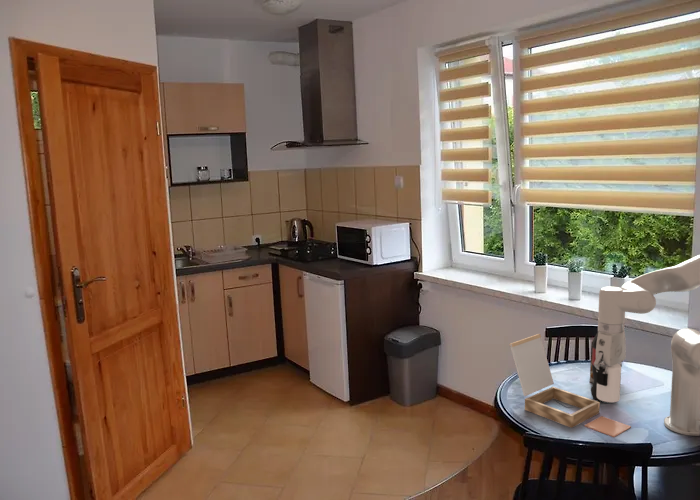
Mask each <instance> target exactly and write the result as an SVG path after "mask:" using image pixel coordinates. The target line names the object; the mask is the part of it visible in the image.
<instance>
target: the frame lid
mask: <svg viewBox="0 0 700 500" xmlns="http://www.w3.org/2000/svg"><path fill="white" fill-rule="evenodd" d="M509 348H510V351H511V355H512V358H513V361H514V364H515V369H516V371H517V372H516V373H517V376H518V379H519V383H520V388H521V390H522V394H523V396H524V397H528V396H529V395H533V394H534V393H536V392H540V391H541V390H542V389H545V388H547V387H550V386H552V385H554V384H555V382H554V379H553V375H552V372H551V368H550V365H549V362H548V361H549V360H548V359H547V358H548V357H547V355H546V351H545V348H544V343H543V340H542V335H541V333H537V334H534V335H532V336H528V337H526V338H522V339H519V340H517V341H514V342H511V343H509Z"/></svg>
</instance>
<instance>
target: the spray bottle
mask: <svg viewBox="0 0 700 500" xmlns="http://www.w3.org/2000/svg"><path fill="white" fill-rule="evenodd" d="M602 363H605V362H604V361H603V362H602ZM601 366H602V367H603V369H604V367H605V365H601ZM607 374H608V381H607V386H603V385H600V384H597V393H596V396H597V398H598V399H599V400H601V401H604V402H611V403H616V402H619V401H620V399H621V385H622V384H621V382H622V381H621V380H622V367H621V365H620V364H618V363H617V364H615V365H613V366H608V369H607Z"/></svg>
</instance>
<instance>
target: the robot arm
mask: <svg viewBox="0 0 700 500" xmlns="http://www.w3.org/2000/svg"><path fill="white" fill-rule="evenodd" d="M698 288H700V254H698V255H696V256H693V257H692V258H689V259H687V260H685V261H682V262H680V263H679V264H676V265H674V266H669V267H665V268H662V269H658V270H654V271H651V272H647V273H644V274H642V275H639V276H637V277H635V278H632V279H631V280H628V281H627V282H625V283H624V284H623V285H621V287H618V286H604V287H602V288H601V289H600V290H599V293H598V314H597V317H598V318H597V332H598V337H597V344H596V360H595V362H594V366H595V368H596V371H597V384H600V385H603V386H607V381H608V374H607V369H608V366H613V365H615V364H617V363H618V364H620V365H621V368H622V367H623V362H624V361H625V360H626V356H627V355H626V354H627V352H626V350H627V345H626V343H627V342H626V333H625V323H626V322H625V321H626V313H631V314H632V313H633V314H638V315H639V314H642V315H643V314H648V313H650V312H652V311H653V310H654V309H655V308H656V304H657V301H656V297H655V296H656V295H657V294H663V293H667V292H669V293H670V292H671V293H672V292H674V293H675V292H676V293H677V292H678V293H683V292H691V291H693V290H696V289H698ZM670 354H671V359H672V360H671V361H672V364H671V365H672V374H671V389H670V405H669V406H670V409H669V410H670V411H669V415H668V416H666V417H665V418H664V419H663V424H664V426H665V427H666V428H667V429H669V430H670V431H672V432H673V433H674V432H675V433H677V434H681V435H686V436H694V437H695V436H696V437H699V436H700V331H699V330H696V329H694V328H689V327H688V328H687V327H686V328H681V329H679V330H678V331H676V332H675V333H674V334H673V336H672V338H671V342H670ZM603 361H604V362H605V363H602V362H603ZM601 365H605V367H604V369H603V367H602V366H601Z"/></svg>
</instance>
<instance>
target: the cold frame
mask: <svg viewBox="0 0 700 500" xmlns="http://www.w3.org/2000/svg"><path fill="white" fill-rule="evenodd" d="M552 400H556V401H559V402H561V403H563V404H564V403H565V404H567V405H571V406H572V407H576V408H578V410H576V411H575V412H572V413H569V412H567V411H566V412H565V411H564V410H560V409H558V408H555V407H552V406H549V405H547V404H545V403H548V402H550V401H552ZM600 406H601V402H598V401H596V400H594V399H593V398H592V399H591V398H588V397H585V396H582V395H580V394H577V393H574V392H570V391H567V390H565V389H562V388H558V387H555V386H551V387H549V388H546V389H544V390H542V391H538V393H535V394H531V395H530V396H527V397H526V398H524V411H526V412H527V411H528V412H530V413H532V414H535V415H538V416H540V417H542V418H545V419H548V420H550V421H551V422H556V423H558V424H561V425H563V426H565V427H568V428H571V429H572V428H574V427H576V426H578V425H580V424H582V423H583V422H586V421H588V420H590V419H591V418H594V417H596V416H597V415H599V414H600Z"/></svg>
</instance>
